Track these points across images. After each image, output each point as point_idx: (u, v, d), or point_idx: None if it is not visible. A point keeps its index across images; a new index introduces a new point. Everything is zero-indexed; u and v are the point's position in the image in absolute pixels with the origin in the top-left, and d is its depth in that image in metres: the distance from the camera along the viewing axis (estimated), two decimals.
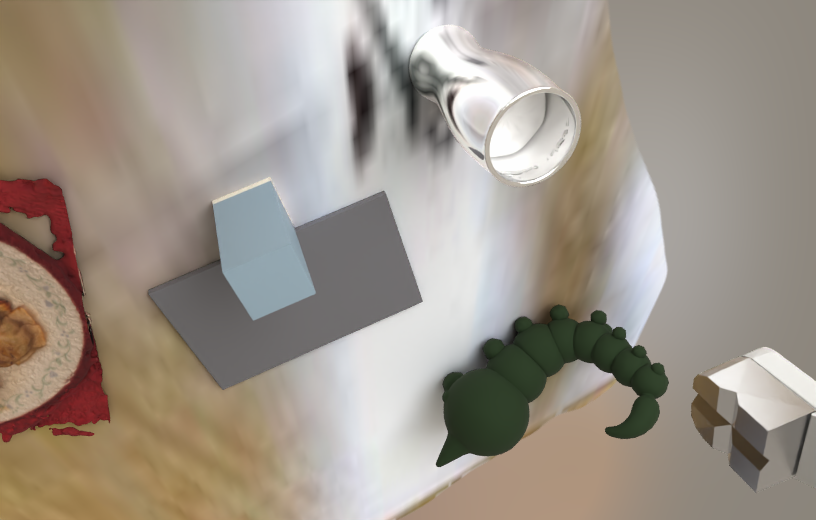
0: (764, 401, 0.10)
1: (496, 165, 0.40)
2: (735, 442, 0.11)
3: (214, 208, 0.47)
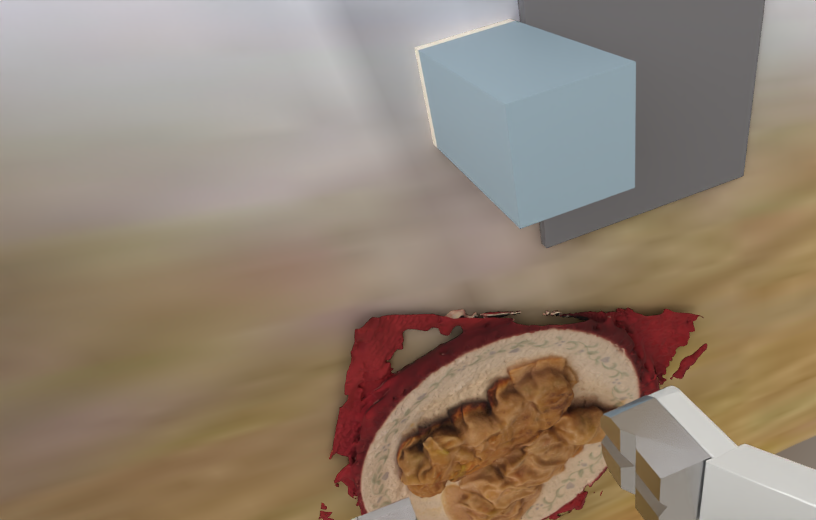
0: (662, 445, 0.10)
1: None
2: (638, 485, 0.11)
3: (441, 150, 0.30)
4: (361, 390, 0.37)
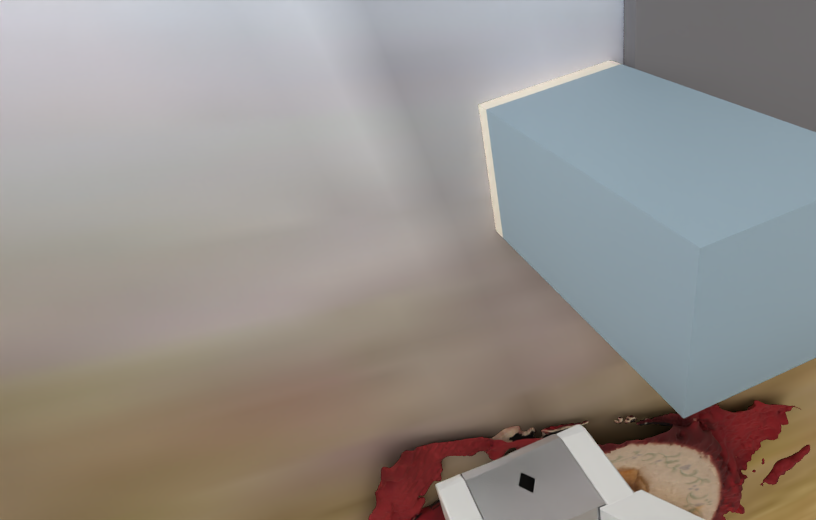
0: (559, 490, 0.10)
1: None
2: None
3: (512, 245, 0.21)
4: None
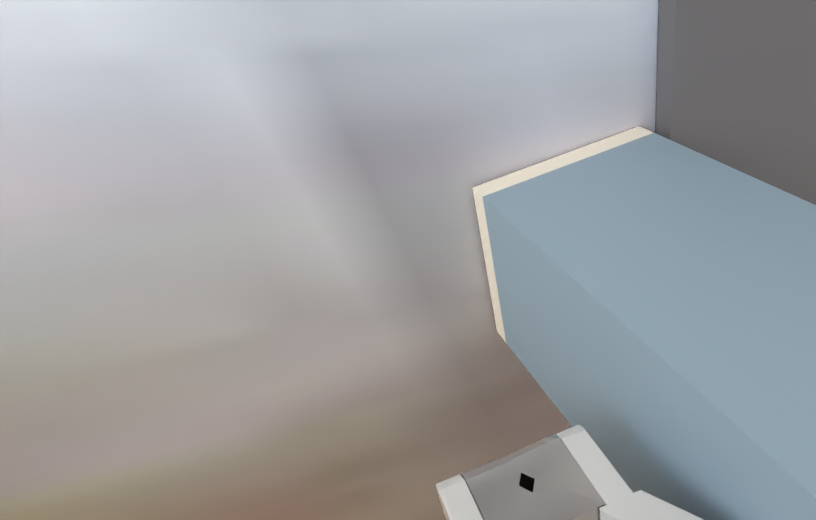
0: (558, 490, 0.10)
1: None
2: None
3: (517, 355, 0.17)
4: None
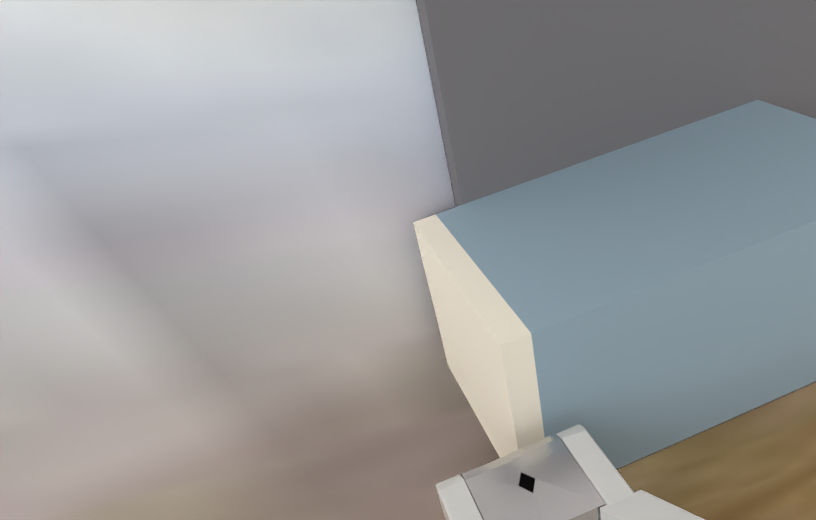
0: (559, 490, 0.10)
1: None
2: None
3: None
4: None
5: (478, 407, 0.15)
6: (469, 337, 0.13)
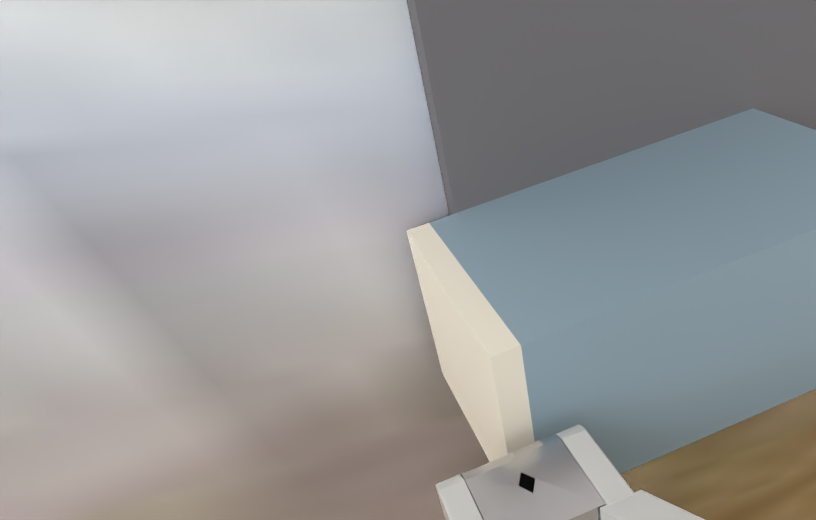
0: (559, 490, 0.10)
1: None
2: None
3: None
4: None
5: (471, 416, 0.15)
6: (461, 347, 0.13)
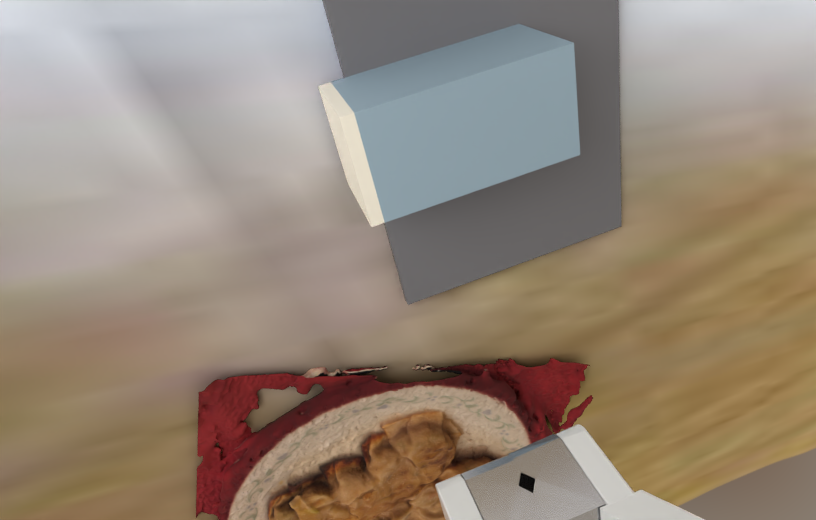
0: (559, 490, 0.10)
1: None
2: None
3: (399, 215, 0.25)
4: (219, 450, 0.36)
5: (354, 188, 0.27)
6: (339, 135, 0.25)
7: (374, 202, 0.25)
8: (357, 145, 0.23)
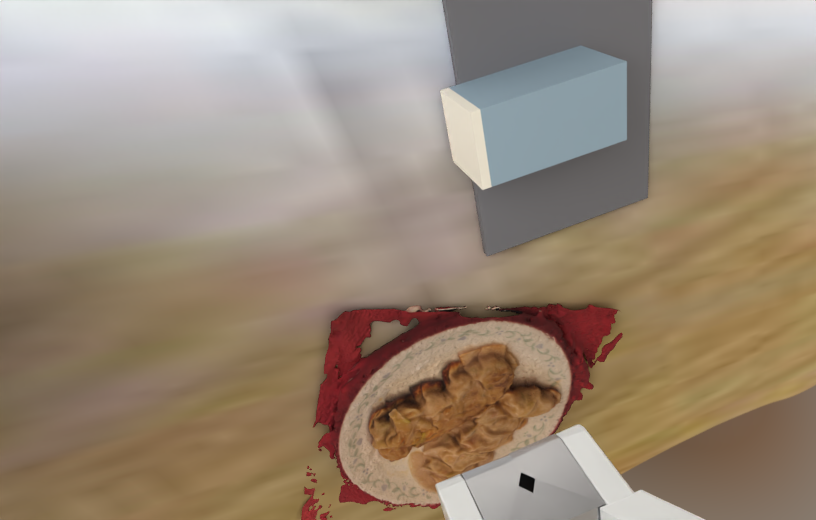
0: (559, 490, 0.10)
1: None
2: None
3: (502, 181, 0.36)
4: (338, 370, 0.46)
5: (465, 164, 0.37)
6: (461, 125, 0.35)
7: (486, 172, 0.35)
8: (479, 131, 0.34)
